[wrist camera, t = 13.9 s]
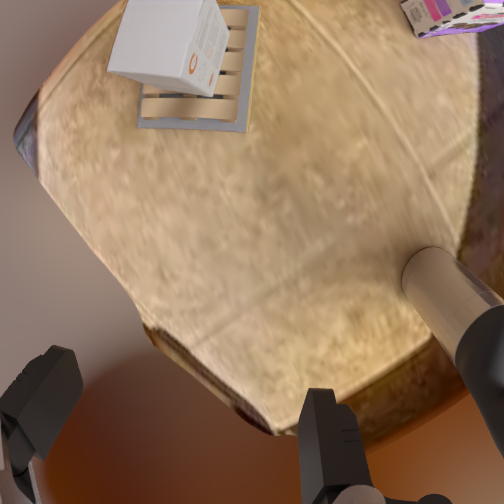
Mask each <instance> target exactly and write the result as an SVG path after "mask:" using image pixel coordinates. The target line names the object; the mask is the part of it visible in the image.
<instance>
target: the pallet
mask: <svg viewBox="0 0 504 504" xmlns="http://www.w3.org/2000/svg"><path fill="white" fill-rule="evenodd" d="M220 11H221V14H222V16H223V19H224V21H225V23H226V26H227V27H231V30H229V33H230V35H229V39H228V43H227V46H226V48H227V49H228V52H225V53H224V57H223V61H222V64H221V68H220V71H226V74H225V75H218V79H217V83H216V86H215V90H214V94H217V95H223V99H202V98H199V95H196V94H190V93H183V92H177V91H170V90H162V89H158V88H156V87H153V86H150V85H147V84H144V85H143V94H146V98H142V106H141V117H144V120H159V119H160V117H181V120H189V121H197V118H210V119H221V122H228V123H236V120H237V117H238V107H239V100H238V98H239V96H240V88H241V79H242V77H241V72H242V69H243V60H244V53H243V52H244V49H245V43H246V34H247V31H246V28H247V26H248V18H249V10H244V9H220ZM162 94H183V98H161V97H162Z"/></svg>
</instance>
